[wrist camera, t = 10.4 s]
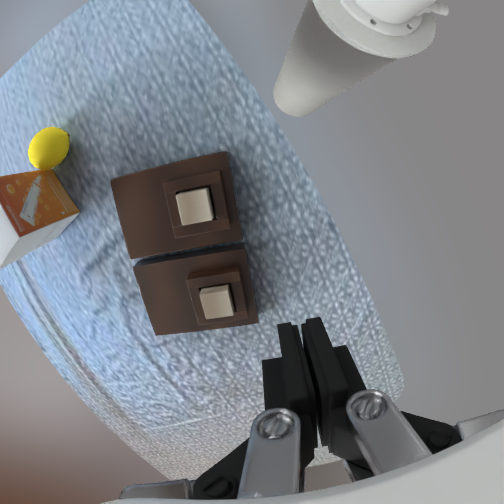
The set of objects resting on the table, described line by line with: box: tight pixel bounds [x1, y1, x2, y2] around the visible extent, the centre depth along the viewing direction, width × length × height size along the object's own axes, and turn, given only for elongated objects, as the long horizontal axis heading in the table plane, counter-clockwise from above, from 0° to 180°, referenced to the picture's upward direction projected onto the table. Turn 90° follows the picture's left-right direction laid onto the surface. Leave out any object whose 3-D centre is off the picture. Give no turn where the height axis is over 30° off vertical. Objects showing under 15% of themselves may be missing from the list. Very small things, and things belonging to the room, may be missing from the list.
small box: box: [0, 169, 80, 270], centre depth 27 cm, size 8×6×13 cm
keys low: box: [110, 151, 243, 259], centre depth 32 cm, size 14×10×4 cm
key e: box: [200, 284, 234, 319], centre depth 33 cm, size 3×3×2 cm
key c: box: [176, 187, 214, 225], centre depth 30 cm, size 3×3×2 cm
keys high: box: [133, 243, 259, 335], centre depth 36 cm, size 14×10×4 cm
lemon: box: [28, 127, 69, 170], centre depth 29 cm, size 7×5×5 cm
